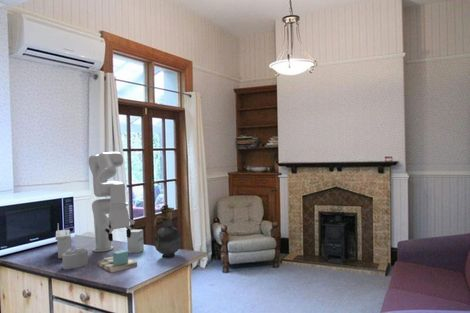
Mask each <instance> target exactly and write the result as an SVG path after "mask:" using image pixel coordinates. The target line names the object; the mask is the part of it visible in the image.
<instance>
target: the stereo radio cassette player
mask: <svg viewBox="0 0 470 313" xmlns="http://www.w3.org/2000/svg"><path fill="white" fill-rule="evenodd" d="M59 228H60V227H59V224H57V230H56V231H55V240H56V242H57V244H56V245H57V258H58V259H59V260H60V259H62V254H63V253H65V252H66V251H67V250H68V249H72V236H71V230H70V229H61V230H60V229H59Z"/></svg>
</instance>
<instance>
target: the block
mask: <svg viewBox="0 0 470 313" xmlns="http://www.w3.org/2000/svg"><path fill="white" fill-rule="evenodd" d="M112 256H113V264H115V265H121V264H125V263H128V258H129V253H128V250H125V249H121V250H116V251H112Z"/></svg>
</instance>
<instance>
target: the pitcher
mask: <svg viewBox="0 0 470 313" xmlns="http://www.w3.org/2000/svg"><path fill="white" fill-rule="evenodd" d="M174 210H175V207H169V204H165V205H163V206H161V208H160V212H161V215H157V216H155V219H154V221H153V222H154V223H153V228H154V231H155V232H154V233H155V234H154V242H153V243H154V244H153V245H154V248H155V250H156V251H157V252H159V254H162V255H161V258H162V259H171V258H174V257H176V253H177V252H178V251H179V250H180V248H181V245H182V234H181V231H180V230H178V228H176V227H174V226H172V225H173V223H172V220H173V215H172V214H173V211H174ZM160 219H162V227H161V228H159V229H158V230H157V223H158V220H160Z"/></svg>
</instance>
